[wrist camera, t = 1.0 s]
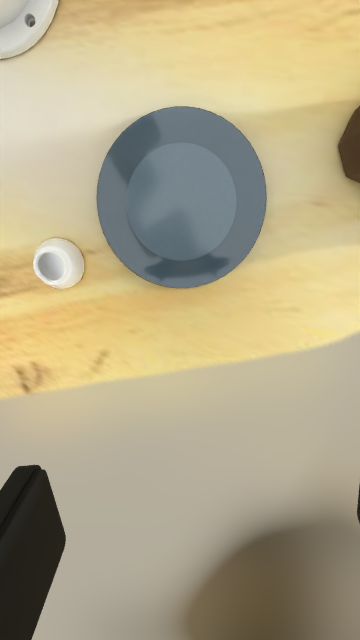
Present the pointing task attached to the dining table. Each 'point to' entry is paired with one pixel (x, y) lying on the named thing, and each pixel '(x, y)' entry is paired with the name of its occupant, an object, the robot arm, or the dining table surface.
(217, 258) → the plate
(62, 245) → the lidless jar
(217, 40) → the dining table surface
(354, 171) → the beer bottle
